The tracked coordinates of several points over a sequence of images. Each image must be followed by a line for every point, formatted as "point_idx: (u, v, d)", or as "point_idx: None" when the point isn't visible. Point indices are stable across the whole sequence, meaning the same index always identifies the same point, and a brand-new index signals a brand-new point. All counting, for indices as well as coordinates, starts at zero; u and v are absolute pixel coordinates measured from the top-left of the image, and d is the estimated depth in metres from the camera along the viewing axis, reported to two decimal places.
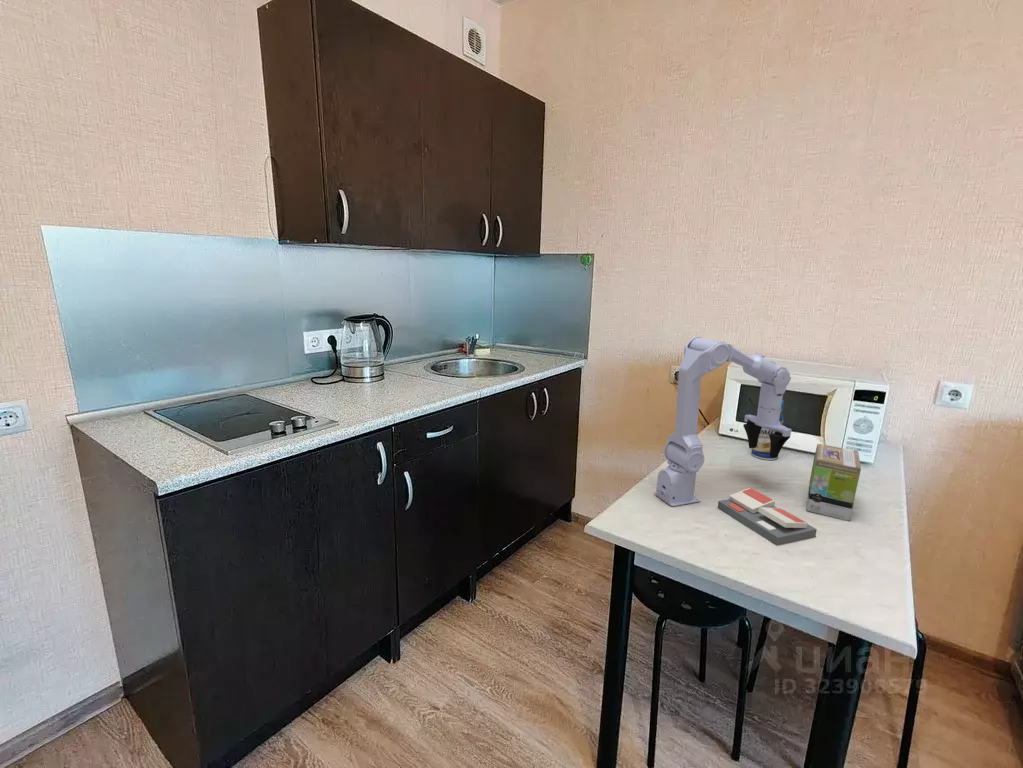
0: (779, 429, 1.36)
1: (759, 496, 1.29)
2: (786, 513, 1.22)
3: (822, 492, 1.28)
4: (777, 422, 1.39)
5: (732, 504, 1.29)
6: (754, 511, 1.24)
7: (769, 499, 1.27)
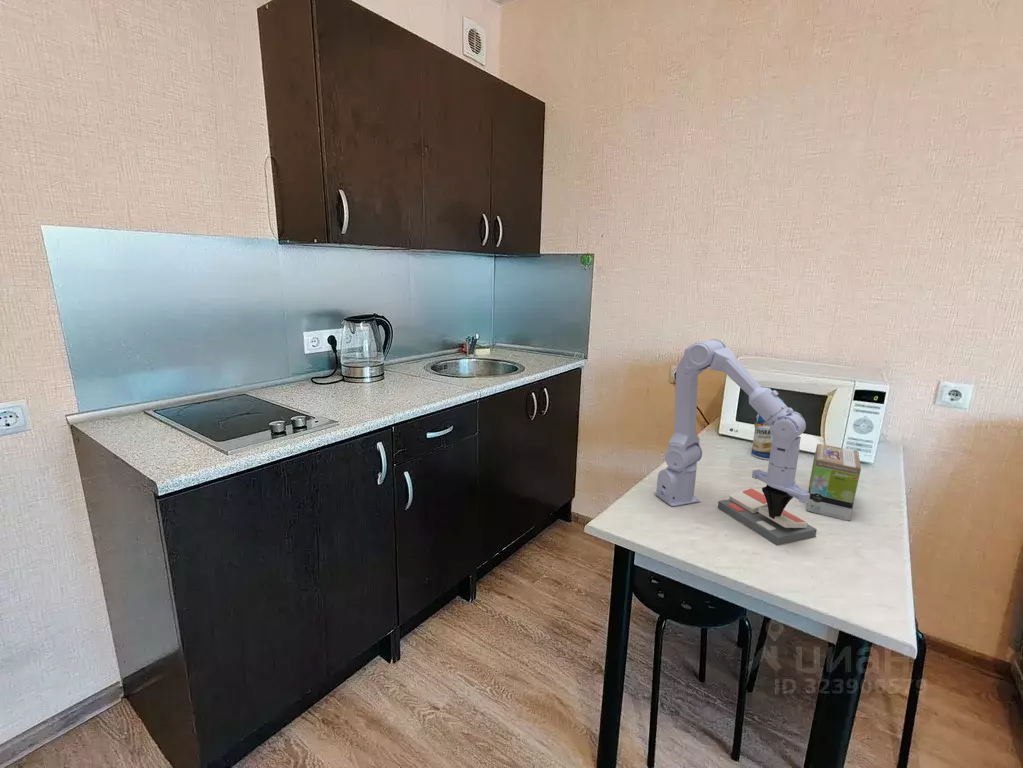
0: (795, 493, 1.12)
1: (759, 496, 1.29)
2: (786, 513, 1.22)
3: (822, 492, 1.28)
4: (792, 483, 1.15)
5: (732, 504, 1.29)
6: (754, 511, 1.24)
7: None
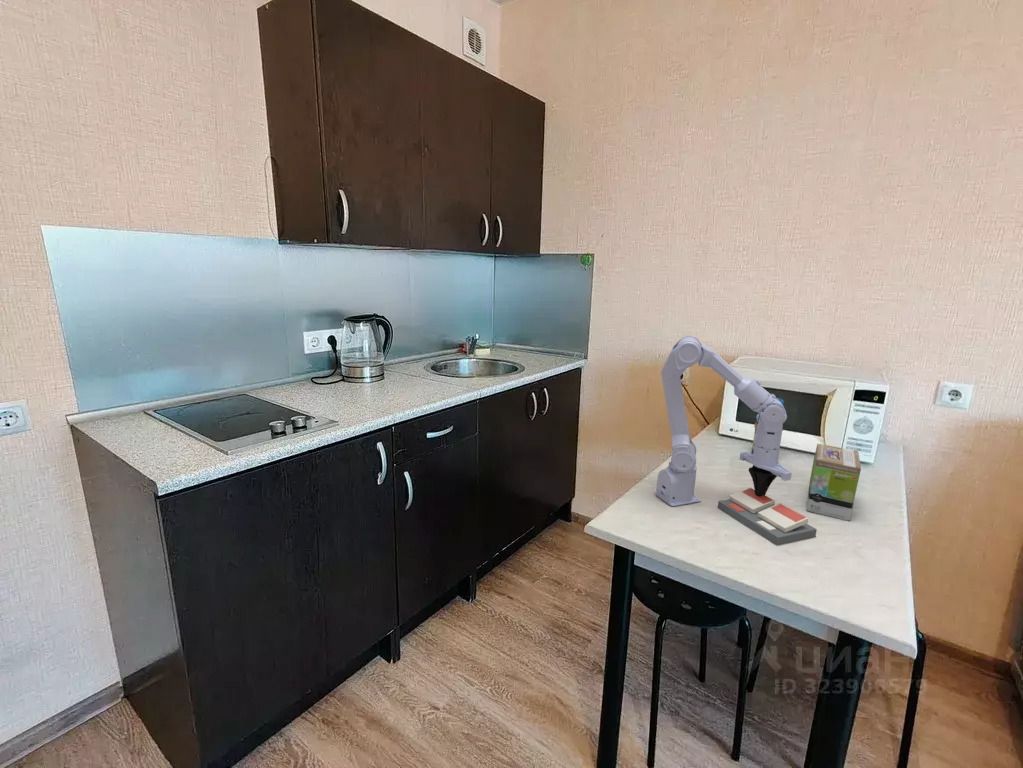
0: (778, 472, 1.22)
1: None
2: (786, 510, 1.21)
3: (822, 492, 1.28)
4: (776, 463, 1.25)
5: (732, 504, 1.29)
6: (754, 511, 1.24)
7: (769, 499, 1.27)
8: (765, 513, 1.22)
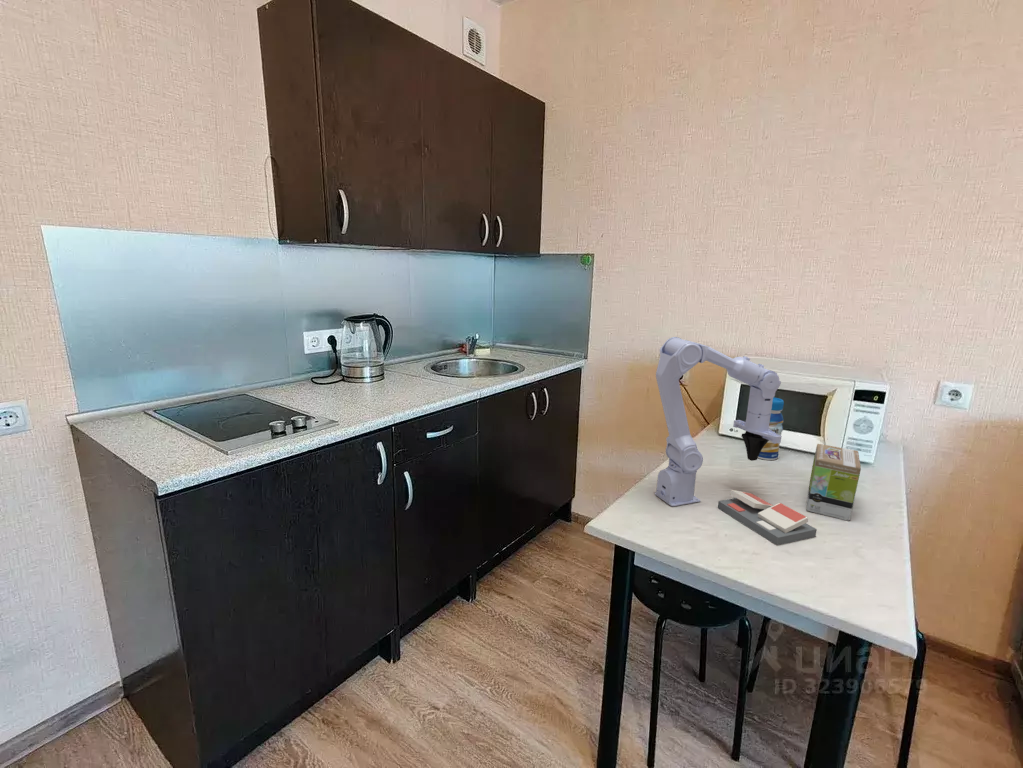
0: (769, 436, 1.30)
1: (759, 499, 1.29)
2: (786, 510, 1.21)
3: (822, 492, 1.28)
4: (767, 428, 1.33)
5: (732, 504, 1.29)
6: (755, 506, 1.24)
7: (769, 504, 1.27)
8: (765, 514, 1.22)
